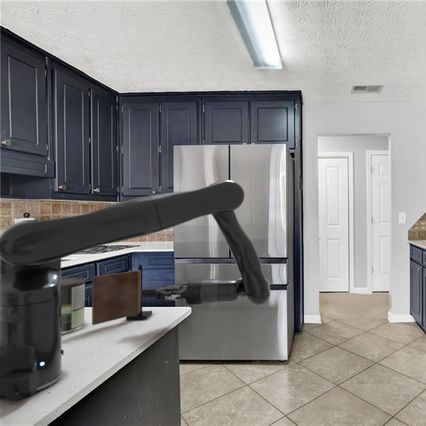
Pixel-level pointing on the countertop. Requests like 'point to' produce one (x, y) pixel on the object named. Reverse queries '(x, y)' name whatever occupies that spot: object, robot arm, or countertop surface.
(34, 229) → the robot arm
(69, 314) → the coffee can
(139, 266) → the hinge post
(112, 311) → the door
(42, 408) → the countertop surface
